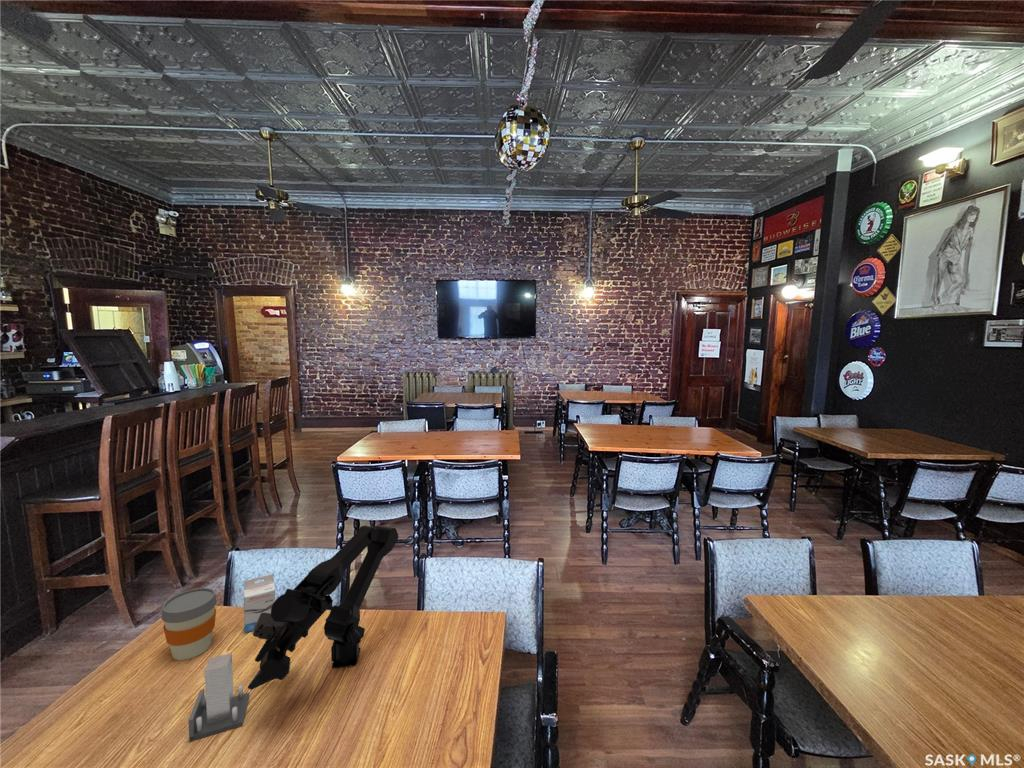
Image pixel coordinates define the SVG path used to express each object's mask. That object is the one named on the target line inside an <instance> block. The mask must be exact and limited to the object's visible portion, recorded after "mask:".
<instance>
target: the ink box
mask: <svg viewBox="0 0 1024 768" xmlns="http://www.w3.org/2000/svg"><path fill="white" fill-rule="evenodd" d="M258 581H260V582H258ZM243 584H244V585H243V587H244V590H243V614H244V615H243V619H244V622H243V624H244V633H245V634H247V633H251V632H253V631H254V628H255V625H256V623H257V621H258V619H259V616H260V614H261V613H270V614H271V608H272V605H273V603H274V602H275V601H276V599H277V597H276V584H275V581H274V574H273V573H270V574H266V575H262V576H258V577H254V578H251V579H246V580H244V581H243Z"/></svg>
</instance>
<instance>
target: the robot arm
mask: <svg viewBox="0 0 1024 768" xmlns="http://www.w3.org/2000/svg"><path fill="white" fill-rule="evenodd" d="M398 539H399V533H398V530H397V528H395V527H391V526H386V525H380V524H379V525H378V524H377V525H375V526H372V525H371V526H370V525H362V526H360V527H359V528H358V530H357V531H356V533H355V534H354V535H353V536H352V537H351V538H350V539H348V541H346V543H345V544H344V545H343V546H342V547H341V548H340V549H339V550H338V551H337V552H336V553H335V554H334V555H333V556H332V557H330V558H329V559H326V560H324V561H321V562H319V564H317V565H316V566H315V567H313V568H312V569H310V570H309V572H308V574H307V575H305V577H304V578H303V579H302V580H301V581H300V582H299V583H297V585H296V586H295V587H294V588H293V589H292V588H287V589H286V590H285V592H284V593H283V594H281V595H280V596H278V597H276V601H275V602H274V603H273V605H272V608H271V614H270V613H261V614H260V616H259V619H258V621H257V623H256V625H255V628H254V631H252V636H253V637H254V638H255V637H256V638H258V639H260V640H265V642H264V644H263V645H261V646H262V647H261V648H260V650H259V651H258V653H257V655H256V657H255V659H254V662H257V663H259V662H260V663H259V670H258V671H257V673H256V674H255V676H253V678H252V679H251V681H250V682H249V684H248V686H247V689H248V690H250V691H251V690H254V689H257V688H258V687H260V686H262V685H264V684H266V683H269V682H272V681H275V680H278V681H284V679H285V678H286V677H288V675H289V674H290V670H291V664H292V663H291V657H290V656H288V655H287V651H289V652H290V653H293V652H294V651H295V650H296V645H297V643H298V642H299V641H300V640H301V639H302V638H303V639H306V637H308V635H309V631H310V629H311V628H312V626H313V625H315V623H316V622H317V621H318V620H319V619H320V618H321V617H322V615H323V614H324V613H325V612H326V611H329V614H328V616H327V617H326V618H325V620H324V621H325V623H324V626H323V630H324V632H323V633H324V636H325V637H326V638H327V639H328V640H329V641H333V642H332V645H331V648H330V651H331V652H330V655H331V657H330V658H331V662H332V664H331V668H332V669H336V668H344V667H345V668H346V667H347V668H348V667H355V666H357V665H358V662H359V661H358V660H359V657H360V653H361V647H360V643H361V642H362V639H363V638H364V636H365V632H366V628H365V627H362V626H360V625H359V624H360V622H361V610H360V609H361V607H362V604H363V601H364V599H365V597H366V595H367V592H368V590H369V588H370V586H371V584H372V582H373V581H374V577H375V575H376V573H377V571H378V569H379V566H380V564H381V562H382V560H383V558H384V557H386V555H388V554H390V552H392V551H393V549H394V547H395V546H396V543H397V542H398ZM366 548H367V552H366V554H365V556H364V558H363V561H362V562H361V565H360V567H359V569H358V571H357V572H356V575H355V577H354V579H353V581H352V582H351V585H350V587H349V589H348V592H347V593H346V594H345V598H344V599H343V601H342V602H341V603H340V604H338V605H333V601H334V600H333V598H332V597H331V595H332V594H333V593H334V592H335V591H336V589H337V588H338V587H339V586H340V584H341V582H342V581H343V579H344V574H345V573H344V572H346V570H347V569H348V567H350V565H351V564H353V562H355V560H356V559H357V558H358V556H359V557H360V555H361V553H363V552H364V550H365V549H366Z"/></svg>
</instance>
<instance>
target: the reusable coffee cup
mask: <svg viewBox="0 0 1024 768" xmlns="http://www.w3.org/2000/svg"><path fill="white" fill-rule="evenodd" d="M217 603H218V601H217V596H216V591H215V590H214V589H213V588H210V587H209V588H208V587H197V588H193V589H188V590H186V591H182V592H180V593H178V594H176V595H174V596H172V597H170V598H168V600H166V601H165V602H164V604H163V605H162V607H161V609H162V610H161V620H162V621H163V623H164V624H163V626H162V627H163V631H164V632H163V633H164V636H165V640H166V643H167V644H168V645H169V647H170V652H171V656H172V659H174V660H175V661H186V660H190V659H193V658H196V657H198V656H200V655H201V654H203V653H205V652H206V651H207V650H208V649H209V648H210V647H211V644H212V637H213V630H214V629H215V626H216V617H217V616H216V615H217V609H216V606H217Z"/></svg>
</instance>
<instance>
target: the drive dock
mask: <svg viewBox="0 0 1024 768" xmlns="http://www.w3.org/2000/svg"><path fill="white" fill-rule="evenodd" d="M249 699H250V692H246V693H244V685H243V684H239V685H238V686H237V695H234V705H233V708H232V713H231V716H230V718H228V719H224V720H221V721H217V722H214V723H211V724H207V708H206V694H205V689H200V690H199V692H198V695H197V697H196V700H195V702H194V705H193V708H192V710H191V713H190V716H189V719H188V723H187V724H188V739H189V742H194V741H197V740H200V739H203V738H207V737H209V736H213V735H216V734H220V733H223V732H226V731H229V730H234V729H237V728H240V727H243V724H244V720H245V717H246V712H247V709H248V704H249Z"/></svg>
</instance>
